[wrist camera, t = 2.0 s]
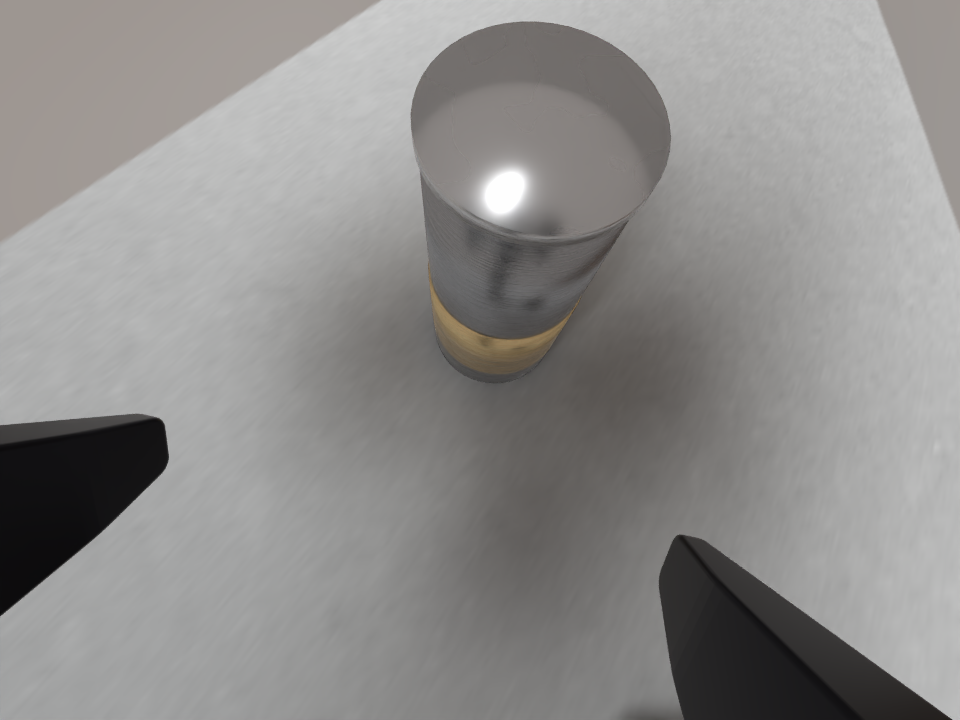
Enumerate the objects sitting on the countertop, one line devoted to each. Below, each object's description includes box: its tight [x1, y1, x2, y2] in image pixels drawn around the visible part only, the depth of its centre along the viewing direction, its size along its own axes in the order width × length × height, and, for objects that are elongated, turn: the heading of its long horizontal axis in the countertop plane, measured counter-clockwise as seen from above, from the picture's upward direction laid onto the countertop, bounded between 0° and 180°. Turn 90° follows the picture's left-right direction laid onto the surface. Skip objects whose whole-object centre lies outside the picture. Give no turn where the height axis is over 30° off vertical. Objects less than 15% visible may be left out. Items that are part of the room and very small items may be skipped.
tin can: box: [411, 22, 671, 383], centre depth 17 cm, size 6×6×13 cm
